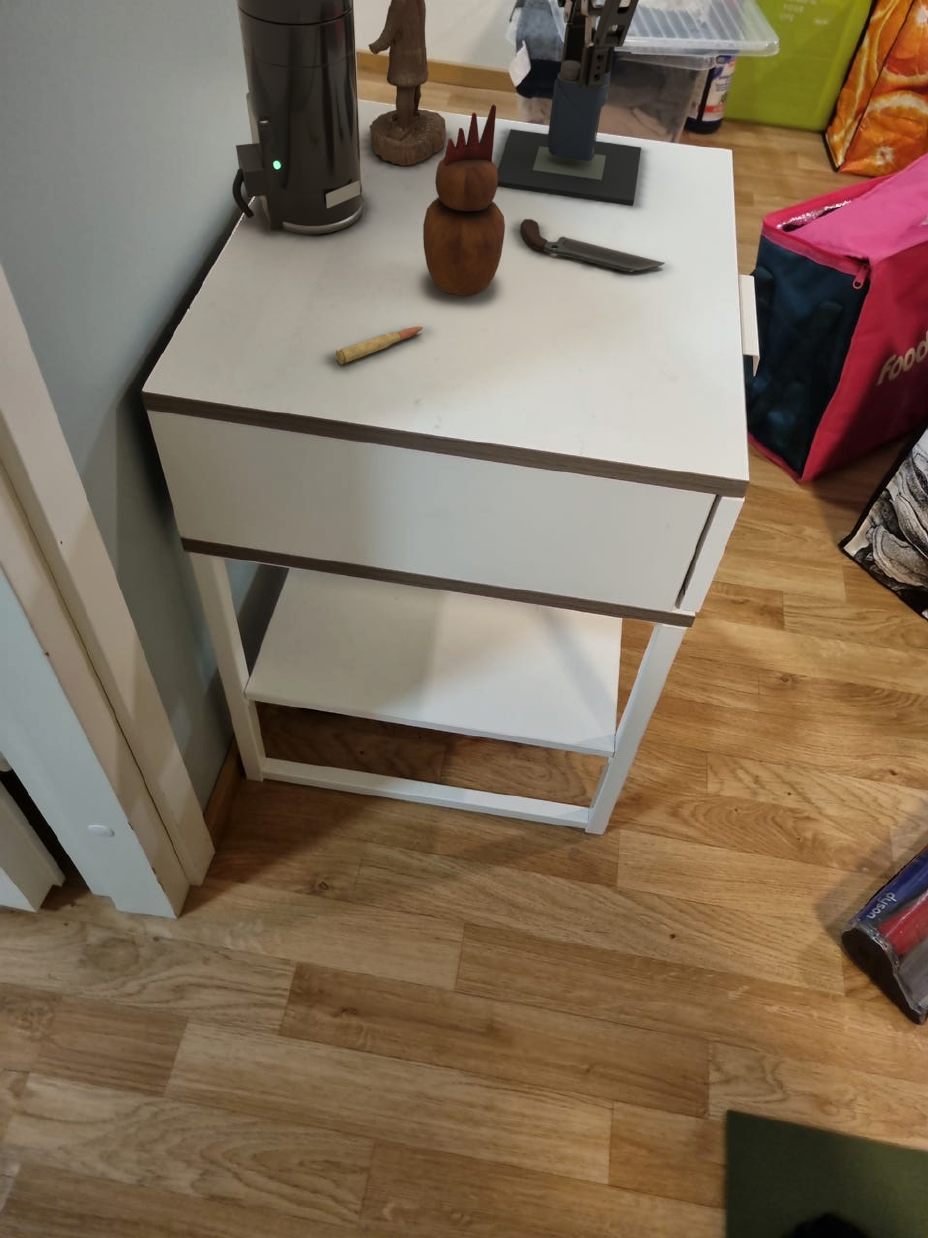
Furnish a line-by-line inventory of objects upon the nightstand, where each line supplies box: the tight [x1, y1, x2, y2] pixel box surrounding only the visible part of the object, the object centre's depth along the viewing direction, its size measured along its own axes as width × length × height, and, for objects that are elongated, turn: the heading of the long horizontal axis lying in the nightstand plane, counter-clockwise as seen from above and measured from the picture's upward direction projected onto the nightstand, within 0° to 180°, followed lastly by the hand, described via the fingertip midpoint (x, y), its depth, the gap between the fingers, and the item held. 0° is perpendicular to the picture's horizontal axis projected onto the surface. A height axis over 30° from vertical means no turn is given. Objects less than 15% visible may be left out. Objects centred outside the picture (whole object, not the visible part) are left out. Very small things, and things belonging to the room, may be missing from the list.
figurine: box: [368, 0, 447, 166], centre depth 86 cm, size 9×8×20 cm
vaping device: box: [547, 47, 616, 161], centre depth 87 cm, size 3×5×12 cm, turn 75°
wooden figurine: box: [422, 104, 506, 296], centre depth 74 cm, size 7×6×15 cm
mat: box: [496, 128, 642, 206], centre depth 93 cm, size 14×11×1 cm
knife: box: [520, 218, 665, 273], centre depth 84 cm, size 14×4×1 cm, turn 69°
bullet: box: [335, 326, 424, 365], centre depth 74 cm, size 8×1×1 cm
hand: (581, 76), depth 86 cm, fingers closed on vaping device, 3 cm apart
